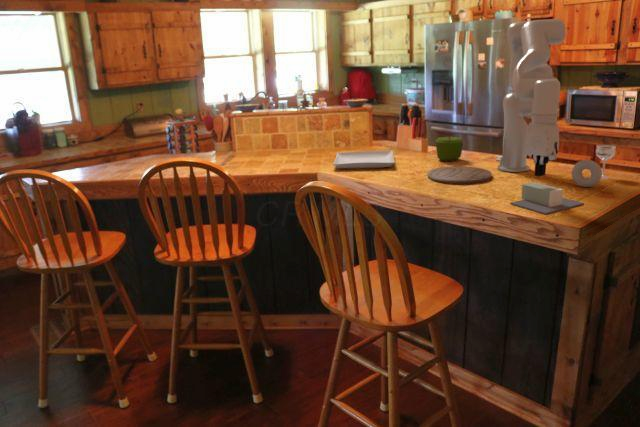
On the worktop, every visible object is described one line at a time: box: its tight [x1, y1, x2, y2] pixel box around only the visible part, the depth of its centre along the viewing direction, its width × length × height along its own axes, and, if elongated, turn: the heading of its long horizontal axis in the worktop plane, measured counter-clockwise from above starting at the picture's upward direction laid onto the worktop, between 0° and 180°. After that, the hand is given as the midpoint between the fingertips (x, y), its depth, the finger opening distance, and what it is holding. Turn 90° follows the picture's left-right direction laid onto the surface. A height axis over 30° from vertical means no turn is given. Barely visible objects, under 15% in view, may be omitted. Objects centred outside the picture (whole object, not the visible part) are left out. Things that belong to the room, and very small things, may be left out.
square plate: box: [333, 150, 396, 170], centre depth 246 cm, size 27×27×4 cm
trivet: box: [427, 165, 493, 186], centre depth 214 cm, size 25×25×2 cm
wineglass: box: [595, 144, 617, 180], centre depth 202 cm, size 7×7×12 cm
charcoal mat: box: [509, 197, 584, 215], centre depth 174 cm, size 14×18×1 cm
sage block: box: [521, 181, 564, 207], centre depth 175 cm, size 5×5×12 cm
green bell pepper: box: [435, 136, 464, 162], centre depth 244 cm, size 12×12×11 cm
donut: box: [571, 159, 603, 188], centre depth 191 cm, size 10×4×10 cm, turn 48°
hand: (539, 175), depth 175 cm, fingers closed
